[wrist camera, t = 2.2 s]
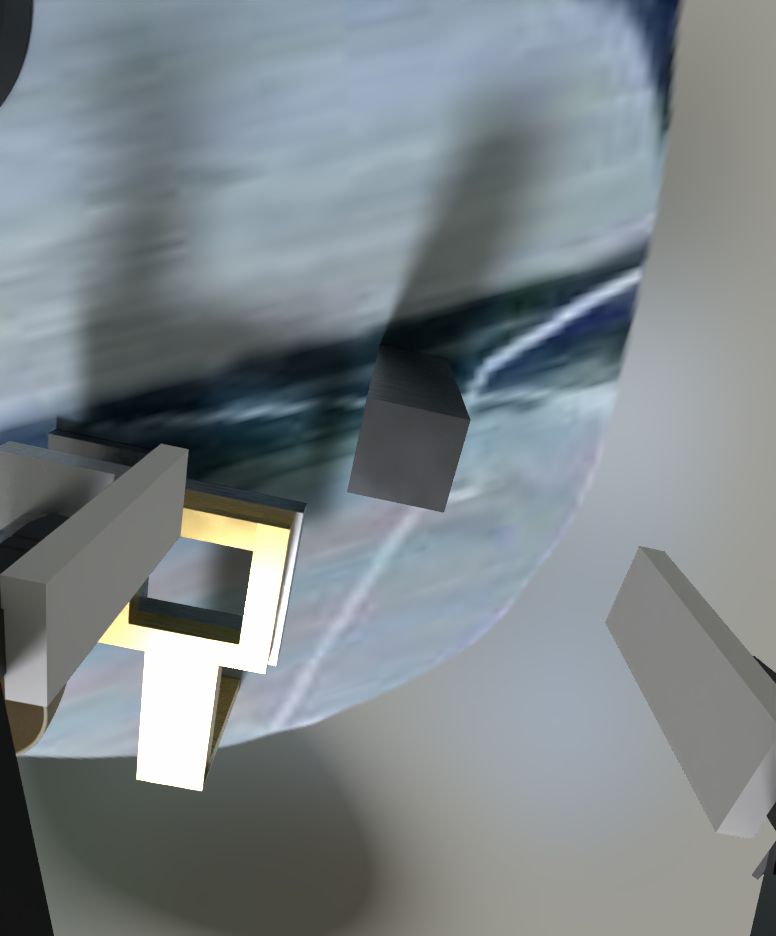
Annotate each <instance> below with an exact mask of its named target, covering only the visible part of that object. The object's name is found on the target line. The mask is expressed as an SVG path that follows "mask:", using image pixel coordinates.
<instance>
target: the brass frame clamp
mask: <svg viewBox="0 0 776 936" xmlns="http://www.w3.org/2000/svg"><path fill="white" fill-rule="evenodd" d="M151 451H153V450H151V449H146V448H142V447H137V446H132V445H127V444H123V443H118V442H113V441H108V440H104V439H99V438H94V437H89V436H85V435H80V434H75V433H70V432H66V431H61V430H56V429H55V430H53V431H52V432H50V433H48V449H44V448H39V447H35V446H30V445H25V444H20V443H15V442H11V441H9V442H7V443H5V444H3V445H1V446H0V543H1V542H3V541H4V540H5V539H7V538H8V537H12V535H13V534H14V533H15V532H16V531H18V530H19V529H20V528H22V527H23V526H24V525H26V524H27V523H29V522H31V521H33V520H36V519H39V518H41V517H44V516H47V515H50V514H52V513H53V514H58V515H63V516H68V517H71V516H73V515H74V514H75V513H76V512H78V511H79V510H80V509H81V508H82V507H84V506H85V505H86V504H87V503H89V502H90V501H91V500H92V499H94V498H95V497H96V496H97V495H98V494H100V493H101V492H102V491H103V490H105V489H106V488H107V487H108V486H110V485H111V484H112V483H113V482H114V481H116V480H117V479H118V478H119V477H121V476H122V475H123V474H124V473H126V472H127V471H128V470H129V469H130V468H132V467H133V466H134V465H135V464H137V463H138V462H139V461H140V460H142V459H143V458H144V457H145V456H146V455H148V454H149V453H150V452H151ZM306 506H307V503H303V502H298V501H294V500H289V499H284V498H279V497H274V496H270V495H265V494H260V493H255V492H250V491H246V490H241V489H236V488H231V487H226V486H222V485H217V484H212V483H207V482H202V481H198V480H193V479H188V478H186V483H185V494H184V505H183V516H182V526H181V535H180V536H182V537H187V538H191V539H196V540H201V541H206V542H211V543H216V544H221V545H226V546H231V547H236V548H241V549H246V550H251V551H253V558H252V564H251V571H250V578H249V585H248V592H247V598H246V605H245V612H244V616H239V615H234V614H228V613H223V612H218V611H213V610H208V609H203V608H198V607H193V606H188V605H183V604H177V603H172V602H167V601H162V600H157V599H152V598H147V595H148V580H149V577H148V578H147V579H146V580H145V582H144V583H143V584H142V586H141V587H140V588H139V589H138V591H137V592H136V593H135V595H134V596H133V597H132V598H131V600H130V601H129V602H128V604H127V605H126V606H125V608H124V609H123V610H122V611H121V613H120V614H119V615H118V617H117V618H116V619H115V620H114V622H113V623H112V624H111V626H110V627H109V628H108V629H107V631H106V632H105V633H104V635H103V636H102V637H101V638H100V640H99V641H98V642H100V643H105V644H111V645H116V646H121V647H126V648H132V649H137V650H142V651H145V662H144V677H143V692H142V707H141V721H140V736H139V751H138V765H137V779H138V780H143V781H149V782H155V783H160V784H166V785H172V786H177V787H183V788H189V789H194V790H200V791H202V789H203V786H204V783H205V780H206V778H207V775H208V772H209V770H210V767H211V764H212V761H213V759H214V756H215V754H216V751H217V748H218V745H219V743H220V740H221V737H222V735H223V732H224V729H225V727H226V724H227V721H228V718H229V716H230V713H231V710H232V708H233V705H234V702H235V700H236V697H237V694H238V691H239V685H240V679H235V678H230V677H224V676H221V674H222V666H226V667H231V668H237V669H242V670H247V671H252V672H257V673H263V674H265V672H266V669H267V666H268V664H270V665H275V666H276V663H277V660H278V657H279V653H280V649H281V644H282V638H283V633H284V627H285V622H286V616H287V611H288V605H289V600H290V594H291V589H292V583H293V578H294V572H295V567H296V561H297V556H298V550H299V545H300V539H301V534H302V528H303V523H304V517H305V512H306Z"/></svg>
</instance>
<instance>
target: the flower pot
mask: <svg viewBox="0 0 776 936" xmlns="http://www.w3.org/2000/svg"><path fill="white" fill-rule="evenodd" d="M0 681H1V686H2V691H3V696H4V700H5V705H6V710H7V715H8V719H9V724H10V729H11V734H12V738H13V743H14V748H15V753H16V756H19V755H21V754H23V753H25V752H27V751H28V750H30V749H31V748H32V747H34V746H35V745H36V744H37V743H38V742H39V740H40V739H41V738H42V736H43V734H44V733H45V731H46V729H47V728H48V726H49V724H50V722H51V720H52V718H53V716H54V714H55V712H56V710H57V708H58V706H59V703H60V701H61V698H62V695H63V693H64V690H65V686H66V684H65V685H64V686H63V687H62V689H61V690H60V691H59V693H58V694H57V695H56V696H55V698H54V699H53V700H52V702H51V703H50V704H49V705H48V707H43V706H38V705H33V704H27V703H22V702H17V701H11V700H6V699H5V680H4V676H3V677H2V678H1V680H0ZM66 683H67V682H66Z"/></svg>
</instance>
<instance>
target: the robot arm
mask: <svg viewBox="0 0 776 936" xmlns="http://www.w3.org/2000/svg"><path fill="white" fill-rule="evenodd" d="M29 22H30V0H0V106H1V105H2V103H3V102H4V101H5V99H6V98H7V96H8V94H9V93H10V91H11V89H12V87H13V85H14V83H15V81H16V79H17V76H18V74H19V71H20V69H21V65H22V62H23V59H24V55H25V50H26V46H27V40H28V33H29ZM188 451H189V449H184V448H179V447H175V446H170V445H165V444H160V445H159V446H158V447H156V448H155V449H154V450H153V451H151V452H150V453H149V454H148V455H146V456H145V457H144V458H143V459H142V460H140V461H139V462H138V463H137V464H135V465H134V466H133V467H132V468H130V469H129V470H128V471H127V472H126V473H124V474H123V475H122V476H121V477H119V478H118V479H117V480H116V481H114V482H113V483H112V484H111V485H110V486H108V487H107V488H106V489H105V490H103V491H102V492H101V493H100V494H98V495H97V496H96V497H95V498H94V499H92V500H91V501H90V502H89V503H87V504H86V505H85V506H84V507H82V508H81V509H80V510H79V511H78V512H76V513H75V514H74V515H73V516H71V517H68V516H63V515H58V514H53V513H52V514H50V515H47V516H44V517H41V518H39V519H36V520H33V521H31V522H29V523H27V524H26V525H24V526H23V527H22V528H20V529H19V530H18V531H16V532H15V533H14V534H13V535H12V537H8V538H7V539H5V540H4V541H3V542H1V543H0V680H1V678H2V677H3V676H4V680H5V699H6V700H11V701H17V702H22V703H27V704H33V705H38V706H43V707H48V705H49V704H50V703H51V702H52V700H53V699H54V698H55V696H56V695H57V694H58V693H59V691H60V690H61V689H62V687H63V686H64V685H65V684H66V682H67V681H68V680H69V678H70V677H71V676H72V675H73V673H74V672H75V671H76V669H77V668H78V667H79V665H80V664H81V663H82V662H83V660H84V659H85V658H86V656H87V655H88V654H89V653H90V651H91V650H92V649H93V647H94V646H95V645H96V644H97V642H98V641H99V640H100V638H101V637H102V636H103V635H104V633H105V632H106V631H107V629H108V628H109V627H110V626H111V624H112V623H113V622H114V620H115V619H116V618H117V617H118V615H119V614H120V613H121V611H122V610H123V609H124V608H125V606H126V605H127V604H128V602H129V601H130V600H131V598H132V597H133V596H134V595H135V593H136V592H137V591H138V589H139V588H140V587H141V586H142V584H143V583H144V582H145V580H146V579H147V578H148V577H149V575H150V574H151V573H152V571H153V570H154V569H155V568H156V566H157V565H158V564H159V562H160V561H161V560H162V559H163V557H164V556H165V555H166V553H167V552H168V551H169V550H170V548H171V547H172V546H173V544H174V543H175V542H176V540H177V539H178V538H179V537H180V535H181V526H182V516H183V505H184V494H185V483H186V473H187V462H188ZM605 623H606V625H607V627H608V629H609V631H610V632H611V634H612V636H613V638H614V640H615V642H616V644H617V646H618V648H619V649H620V651H621V653H622V655H623V657H624V659H625V661H626V663H627V665H628V667H629V669H630V670H631V672H632V674H633V676H634V678H635V680H636V682H637V684H638V685H639V687H640V689H641V691H642V693H643V695H644V697H645V699H646V701H647V703H648V705H649V706H650V708H651V710H652V712H653V714H654V716H655V718H656V720H657V722H658V724H659V726H660V727H661V729H662V731H663V733H664V735H665V737H666V739H667V741H668V742H669V744H670V746H671V748H672V750H673V752H674V754H675V756H676V758H677V760H678V762H679V763H680V765H681V767H682V769H683V771H684V773H685V775H686V777H687V778H688V780H689V782H690V784H691V786H692V788H693V790H694V792H695V794H696V795H697V798H698V800H699V801H700V803H701V805H702V807H703V809H704V811H705V812H706V815H707V817H708V818H709V820H710V822H711V824H712V826H713V828H714V830H715V832H716V833H721V834H726V835H732V836H737V837H743V838H748V839H753V838H754V836H755V835H756V833H757V832H758V830H759V829H760V827H761V826H762V825H763V823H764V821H765V820H766V819H767V818H768V819H769V821H770V822H771V824H772V826H773V827H774V829H775V830H776V673H775V672H774V671H772V670H771V669H770V668H768V667H767V666H766V665H765V664H764V663H762V662H761V661H760V660H759V659H757V658H756V657H755V656H752V655H751V654H750V653H749V651H748V650H747V649H746V648H745V647H744V645H743V644H742V643H741V642H740V641H739V639H738V638H737V637H736V636H735V635H734V633H733V632H732V631H731V630H730V629H729V628H728V626H727V625H726V624H725V623H724V622H723V621H722V619H721V618H720V617H719V616H718V615H717V613H716V612H715V611H714V610H713V609H712V607H711V606H710V605H709V604H708V603H707V601H706V600H705V599H704V598H703V597H702V596H701V594H700V593H699V592H698V591H697V590H696V588H695V587H694V586H693V585H692V584H691V582H690V581H689V580H688V579H687V578H686V576H685V575H684V574H683V573H682V572H681V571H680V569H679V568H678V567H677V566H676V565H675V564H674V562H673V561H672V560H671V559H670V558H669V556H668V555H667V554H666V553H665V552H664V551H660V550H655V549H651V548H646V547H641V546H639V548H638V550H637V553H636V555H635V557H634V559H633V562H632V564H631V566H630V568H629V570H628V573H627V575H626V577H625V580H624V582H623V584H622V587H621V589H620V591H619V593H618V595H617V597H616V600H615V602H614V604H613V606H612V609H611V611H610V613H609V615H608V618H607V620H606V622H605ZM762 874H764V877H763V881H762V886H761V890H760V895H759V899H758V903H757V908H756V913H755V917H754V921H753V925H752V930H751V934H750V936H776V842H775V843H774V845H773V846H772V847H771V849H770V850H769V851H768V853H767V854H766V856H765V857H764V859H763V860H762V862H761V863H760V864H759V866H758V867H757V868H756V870H755V871H754V873H753V874H752V876H754V877H755V878H757V879H759V878H760V877H761V876H762ZM0 936H54V934H53V929H52V924H51V919H50V915H49V910H48V905H47V901H46V896H45V891H44V886H43V881H42V876H41V872H40V867H39V862H38V857H37V853H36V848H35V843H34V838H33V834H32V829H31V824H30V819H29V815H28V810H27V805H26V800H25V796H24V791H23V786H22V781H21V777H20V772H19V767H18V762H17V758H16V753H15V748H14V743H13V738H12V734H11V729H10V724H9V719H8V715H7V710H6V705H5V700H4V696H3V691H2V686H1V681H0Z"/></svg>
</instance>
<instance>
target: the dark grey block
mask: <svg viewBox="0 0 776 936" xmlns="http://www.w3.org/2000/svg"><path fill="white" fill-rule="evenodd" d="M469 423H470V418H469V415H468V412H467V410H466V407H465V404H464V401H463V399H462V396H461V393H460V391H459V388H458V385H457V382H456V380H455V377H454V374H453V372H452V369H451V366H450V363H449V361H448V359H446V358H441V357H437V356H432V355H428V354H423V353H419V352H415V351H410V350H406V349H401V348H397V347H392V346H388V345H383V344H380V347H379V351H378V355H377V359H376V363H375V367H374V371H373V375H372V379H371V383H370V387H369V392H368V396H367V400H366V405H365V410H364V414H363V419H362V424H361V429H360V433H359V438H358V443H357V448H356V452H355V457H354V462H353V467H352V471H351V476H350V481H349V486H348V490H347V492H349V493H354V494H359V495H363V496H368V497H373V498H378V499H382V500H387V501H392V502H397V503H401V504H406V505H411V506H416V507H420V508H425V509H430V510H435V511H439V512H444V510H445V507H446V503H447V500H448V496H449V493H450V489H451V486H452V482H453V479H454V475H455V472H456V468H457V465H458V462H459V458H460V455H461V451H462V448H463V444H464V441H465V437H466V434H467V430H468V427H469Z"/></svg>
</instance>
